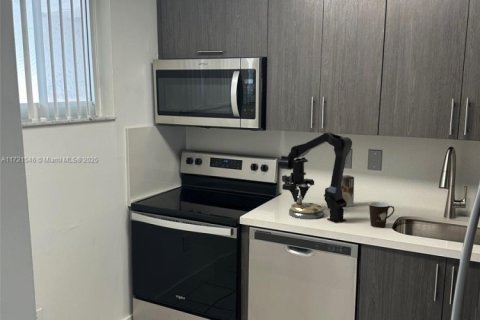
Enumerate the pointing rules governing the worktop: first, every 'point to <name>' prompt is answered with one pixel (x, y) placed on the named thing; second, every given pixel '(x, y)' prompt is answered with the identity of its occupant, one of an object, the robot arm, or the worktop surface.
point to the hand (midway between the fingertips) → (298, 201)
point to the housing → (306, 215)
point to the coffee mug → (379, 214)
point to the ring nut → (305, 207)
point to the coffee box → (348, 189)
